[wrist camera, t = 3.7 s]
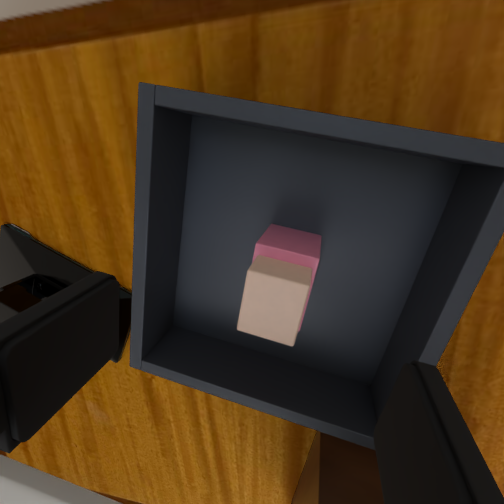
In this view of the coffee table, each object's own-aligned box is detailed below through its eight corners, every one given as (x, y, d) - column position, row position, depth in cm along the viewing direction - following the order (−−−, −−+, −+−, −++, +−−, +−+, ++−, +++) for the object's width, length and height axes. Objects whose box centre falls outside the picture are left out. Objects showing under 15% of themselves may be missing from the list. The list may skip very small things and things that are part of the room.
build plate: (0, 291, 26) (-65, 318, 22) (7, 219, 23) (-66, 234, 19) (119, 361, 25) (76, 404, 21) (142, 294, 22) (98, 328, 18)
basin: (480, 149, 15) (546, 149, 10) (377, 389, 20) (391, 456, 16) (186, 99, 17) (138, 81, 13) (167, 324, 23) (129, 366, 18)
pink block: (321, 235, 17) (318, 276, 11) (305, 296, 18) (295, 358, 13) (270, 223, 17) (244, 257, 12) (258, 283, 19) (229, 338, 13)
